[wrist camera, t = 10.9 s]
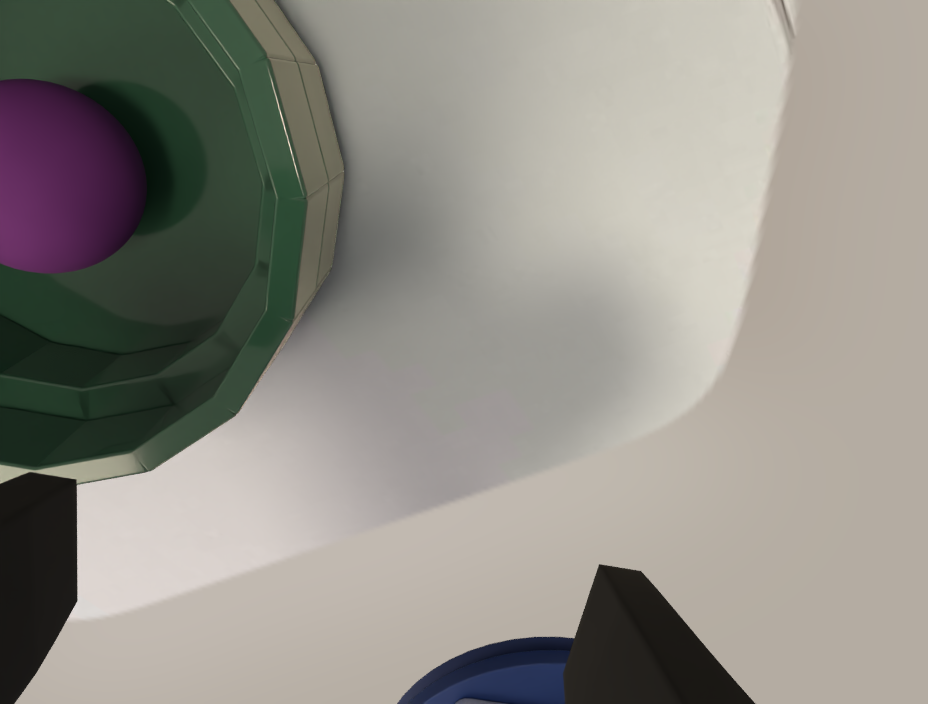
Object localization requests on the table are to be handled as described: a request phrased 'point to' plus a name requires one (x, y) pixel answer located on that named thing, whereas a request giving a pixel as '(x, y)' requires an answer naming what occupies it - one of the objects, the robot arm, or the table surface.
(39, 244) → the ball
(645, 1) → the table surface
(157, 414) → the bowl
